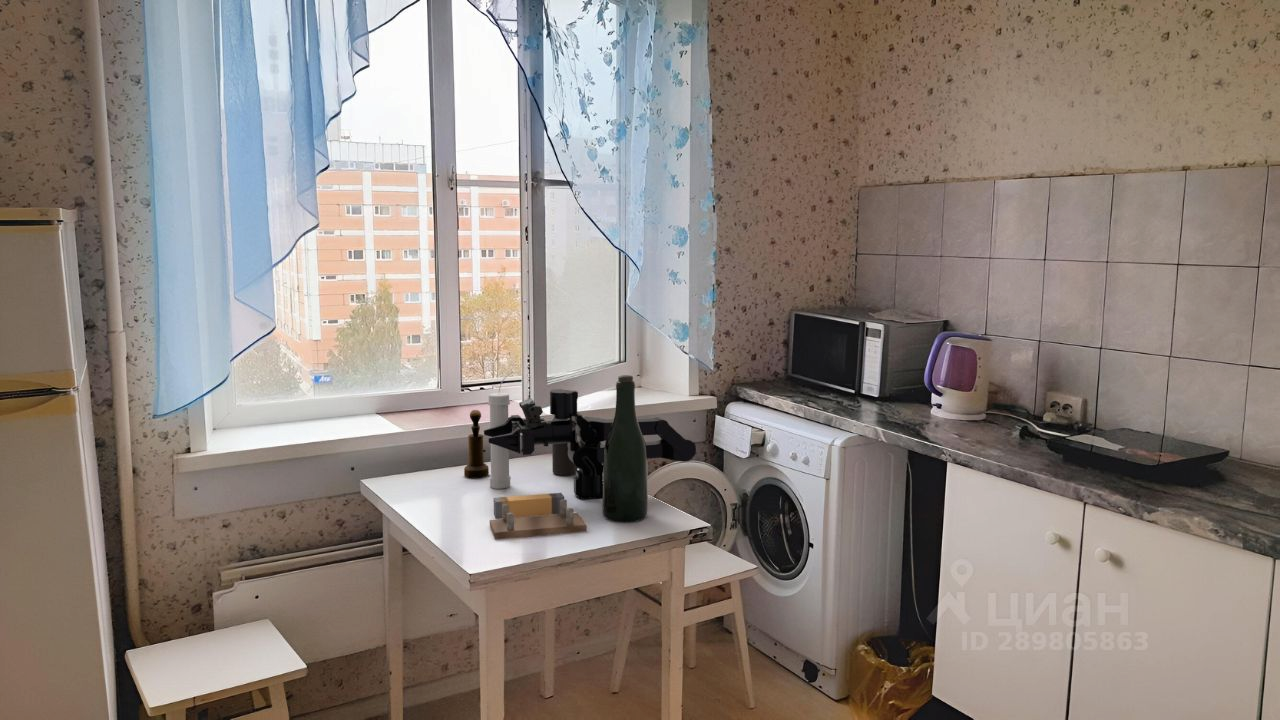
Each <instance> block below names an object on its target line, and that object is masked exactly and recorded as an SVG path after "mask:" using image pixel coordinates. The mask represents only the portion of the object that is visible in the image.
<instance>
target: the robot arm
mask: <svg viewBox="0 0 1280 720" xmlns="http://www.w3.org/2000/svg"><path fill="white" fill-rule="evenodd" d="M578 398H579V392H578V391H577V390H569V389H562V388H559V389H551V390H549V414H550V415H553V416H554V417H553V418H556V419H567V420H555V421H552V420H545V419H544V418H541V415H543V413H544V411H543V409H542V406H541V405H537V404H536V402H535V401H534V400H533V398H531V397H530V398H527V399H525V400H523V401H521V402H518V404H519V405H518V406H519V407H520V408H521V410H522V413H523V415H524V417H525V418H522V417H521V416H520V415H519V414H514V415H513V414H512V415H511V416H508V420H507V421H506V422H505V423H504V424H502V425H499V426H496V427H493V428H490V427H489V428H486V429H484V430H483V436H488V443H489V444H490V445H491V444H494V445H497V446H500V447H503V448H506V449H509V451H511V452H515V453H517V454H518V455H519V454H521V455H522V456H528V455H530V456H531V455H532V454H533V453H534V452H535V446H543V447H549V445H552V444H560V443H568V448H569V449H568V457H569V459H570V460H571V461H572V462H573V463H574V464H575V465H576V467H577V470H576V474H575V476H574V477H573V493H574V494H575V496H576V497H577V498H578V499H579V500H586V499H601V498H602V499H603V458H604V447H605V444H602V442H606V439H607V436H608V434H609V431H610V428H611V426H612V423H613V420H610V419H605V418H600V417H593V416H583V415H582V414H581V413H580V412H579V411H578ZM637 420H638V424H639V426H640V429H641V432H642V434H643V436H658V437H659V438H660V439H659V440H655V441H654V440H653V441H645V444H646V449H647V460H648V459H649V460H650V459H664V460H670V461H674V462H683V463H684V462H689V461H692V460H693V458H694V457H695V455H696V453H697V447H696V445H695V443H694V442H693V441H692V440H691V439H689V437H688V438H687V436H684V435H682V434H680V433H679V432H678V431H677V430H675V428H673V427H672V426H671V425H670V424H669V422H668V421H667V420H665V419H664V418H662V417H653V418H637ZM572 421H573V422H574V424H575V425H576V427H575V428H572ZM575 430H576V433H577V437H579V440H577V441H576V440H575ZM490 437H491V438H490Z"/></svg>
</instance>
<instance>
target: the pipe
mask: <svg viewBox="0 0 1280 720" xmlns="http://www.w3.org/2000/svg"><path fill="white" fill-rule="evenodd" d="M512 373H513V371H512V372H510V373H508V374H507V375H506V376H505V377H504V378H503V379H502V380H501V382H500V385H499V387H498V392H493V393H489V394H488V402H487V403H488V406H489V423H490V424H489V429H490V428H493V427H496V426H499V425H502V424H504V423H505V422H506V421H507V420H508V418H509V405H510V404H511V403H510V394H509V393H506V392H500V390H501V387H502V384H503V382H504V380H505V379H506V378H507V377H508V376H510V375H511V374H512ZM489 438H491V437H490V436H489ZM488 479H489V486H490V488H491V489H496V490H502V489H503V490H505V489H508V488H510V487H511V479H512V477H511V475H510V450H509V449H506V448H503V447H500V446H497V445H494V444H491V443H490V476H489V478H488Z"/></svg>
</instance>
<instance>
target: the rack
mask: <svg viewBox="0 0 1280 720" xmlns="http://www.w3.org/2000/svg"><path fill="white" fill-rule="evenodd" d="M502 508H503V518H502V519H495V518H494V519H489V528H490V531H491V533H492V535H493V539H494V540H503V539H513V538H524V537H525V538H527V537H536V536H537V535H539V536H547V535H548V534H550V535H560V533H562V534H569V533H570V534H572V533H583V532H587V526H588V525H587V523H586V521H584V519H582V516H580V514H579V513H578V512H574V508H573V507H568V500H567V499H564V500H560V514H551V515H539V516H527V517H514V513H509V504H503V505H502ZM548 536H549V535H548Z"/></svg>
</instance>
